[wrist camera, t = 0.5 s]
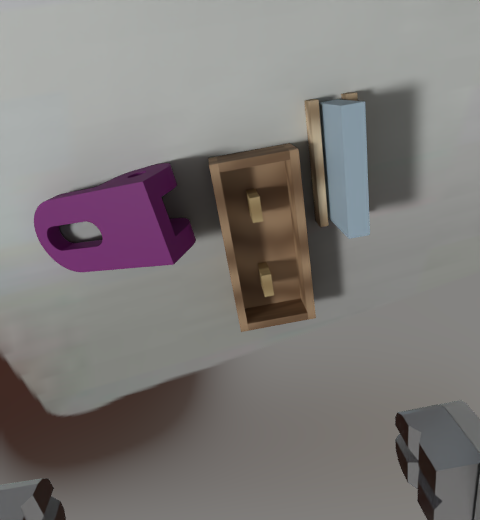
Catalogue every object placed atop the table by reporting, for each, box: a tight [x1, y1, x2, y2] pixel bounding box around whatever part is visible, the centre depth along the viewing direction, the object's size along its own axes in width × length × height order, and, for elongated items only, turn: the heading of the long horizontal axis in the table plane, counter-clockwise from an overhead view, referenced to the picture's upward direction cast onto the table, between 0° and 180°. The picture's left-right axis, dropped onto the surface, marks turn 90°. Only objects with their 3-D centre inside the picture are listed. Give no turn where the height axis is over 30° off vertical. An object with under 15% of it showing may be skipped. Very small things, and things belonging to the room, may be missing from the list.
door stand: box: [305, 92, 358, 227], centre depth 49 cm, size 15×5×2 cm, turn 9°
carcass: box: [208, 143, 316, 332], centre depth 51 cm, size 22×10×5 cm, turn 9°
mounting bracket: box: [34, 163, 196, 272], centre depth 49 cm, size 9×8×18 cm
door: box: [319, 99, 370, 239], centre depth 46 cm, size 14×3×9 cm, turn 9°
